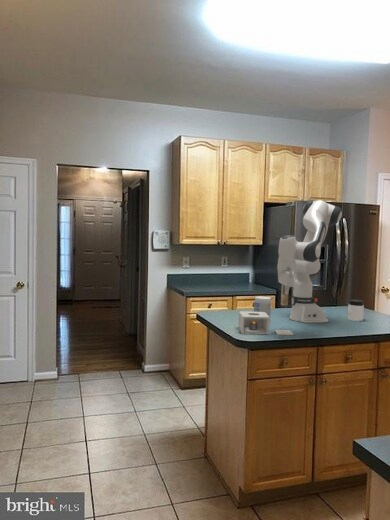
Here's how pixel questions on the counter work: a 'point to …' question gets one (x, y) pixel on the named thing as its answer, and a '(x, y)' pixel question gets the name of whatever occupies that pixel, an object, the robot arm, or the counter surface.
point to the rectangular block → (284, 296)
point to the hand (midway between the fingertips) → (285, 293)
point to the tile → (283, 332)
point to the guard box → (253, 316)
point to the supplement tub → (262, 305)
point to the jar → (355, 310)
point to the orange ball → (253, 325)
